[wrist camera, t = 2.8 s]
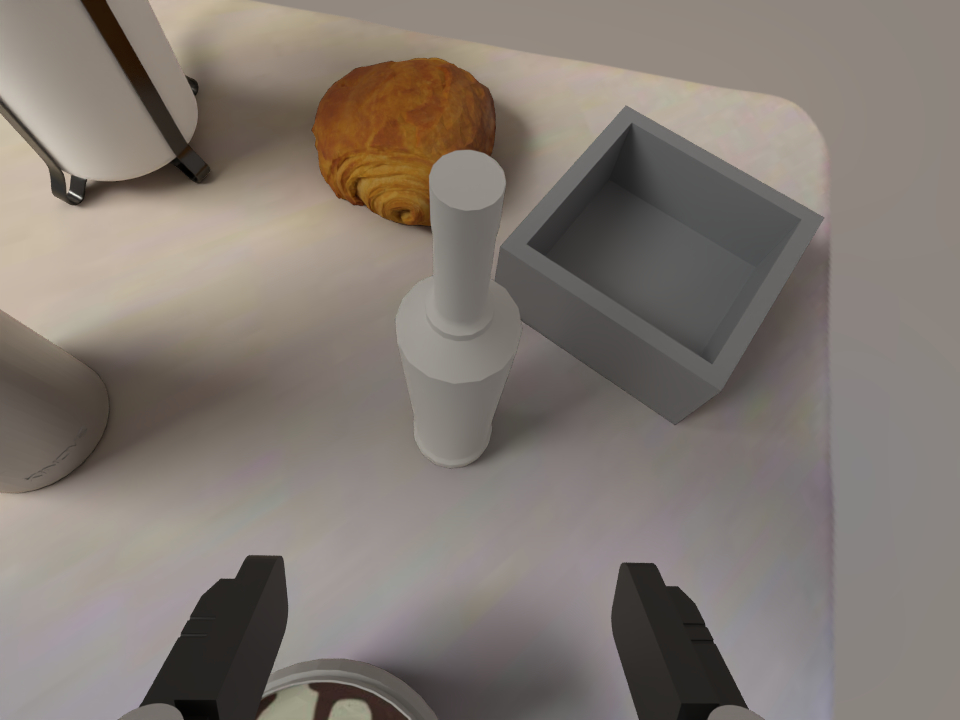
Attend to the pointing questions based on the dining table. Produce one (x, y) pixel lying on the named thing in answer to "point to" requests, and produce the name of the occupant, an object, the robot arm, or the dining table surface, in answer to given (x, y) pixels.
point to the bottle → (459, 315)
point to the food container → (339, 694)
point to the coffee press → (96, 91)
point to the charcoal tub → (654, 263)
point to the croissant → (399, 132)
